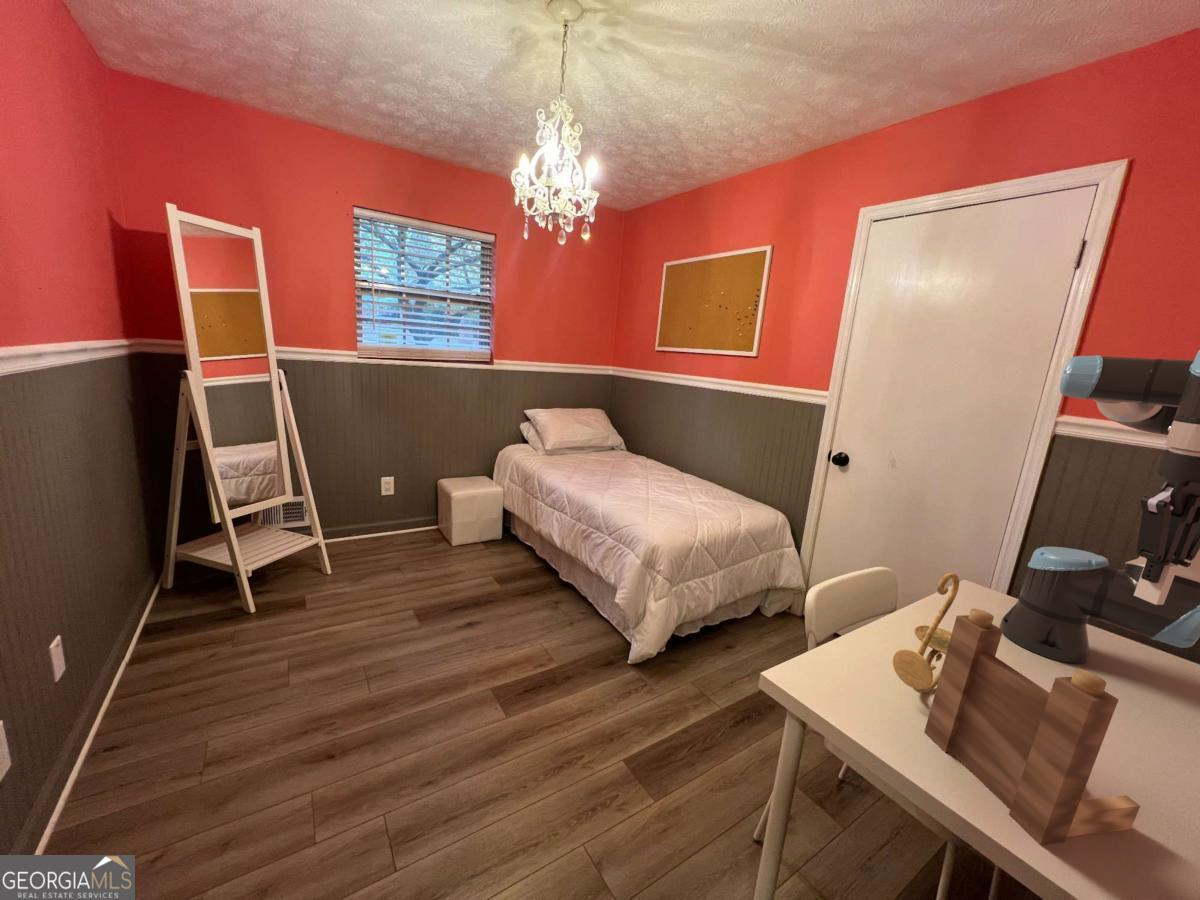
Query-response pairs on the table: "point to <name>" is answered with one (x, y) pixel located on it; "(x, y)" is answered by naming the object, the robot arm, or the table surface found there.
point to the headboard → (1025, 735)
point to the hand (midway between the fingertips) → (1148, 599)
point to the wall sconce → (913, 664)
